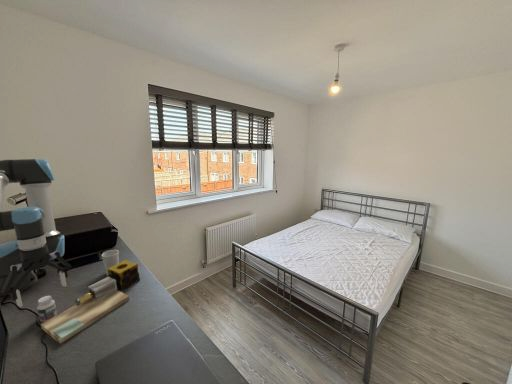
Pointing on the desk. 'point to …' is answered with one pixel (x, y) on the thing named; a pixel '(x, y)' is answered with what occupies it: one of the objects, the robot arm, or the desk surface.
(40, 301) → the pill bottle
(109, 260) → the cup
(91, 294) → the pin
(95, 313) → the wooden base board
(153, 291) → the desk surface
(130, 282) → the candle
